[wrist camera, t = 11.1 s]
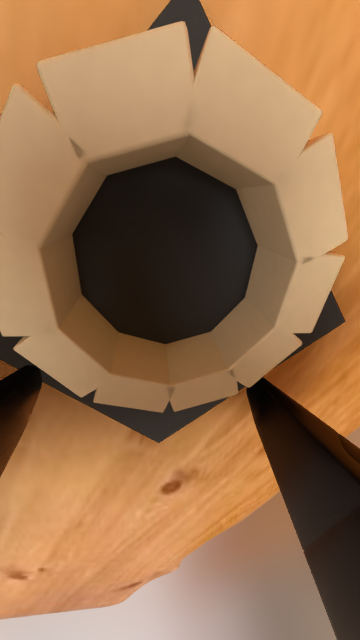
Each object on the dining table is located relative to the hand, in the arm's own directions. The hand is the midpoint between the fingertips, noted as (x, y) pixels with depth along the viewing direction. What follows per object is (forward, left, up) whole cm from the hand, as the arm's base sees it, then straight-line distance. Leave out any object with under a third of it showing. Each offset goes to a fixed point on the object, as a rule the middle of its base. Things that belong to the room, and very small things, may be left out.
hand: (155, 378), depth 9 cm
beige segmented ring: (+4, +3, -1) cm, 5 cm away
